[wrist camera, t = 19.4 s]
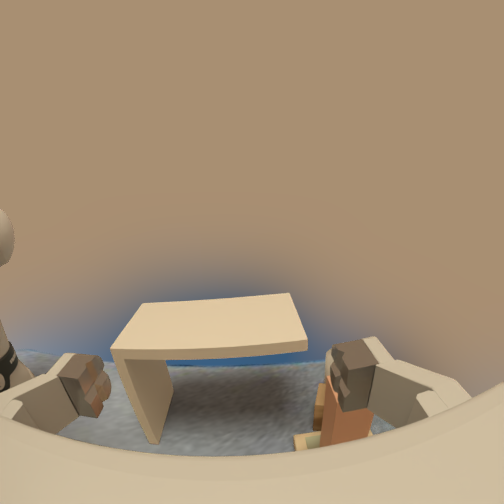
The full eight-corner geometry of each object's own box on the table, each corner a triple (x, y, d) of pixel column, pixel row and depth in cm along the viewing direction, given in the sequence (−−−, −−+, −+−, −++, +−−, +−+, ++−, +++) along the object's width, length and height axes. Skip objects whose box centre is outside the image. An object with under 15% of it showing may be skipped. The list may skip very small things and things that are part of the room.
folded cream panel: (304, 439, 35) (307, 339, 31) (149, 443, 35) (109, 348, 31) (291, 384, 49) (289, 292, 45) (166, 390, 49) (142, 303, 44)
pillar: (359, 461, 28) (379, 393, 24) (326, 468, 28) (337, 402, 24) (350, 438, 32) (364, 368, 29) (319, 444, 32) (326, 375, 29)
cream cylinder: (318, 398, 44) (321, 358, 42) (329, 384, 47) (332, 344, 45) (341, 406, 41) (347, 365, 39) (351, 390, 45) (357, 350, 42)
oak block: (312, 430, 37) (314, 404, 36) (317, 409, 42) (319, 383, 40) (345, 432, 36) (350, 406, 34) (347, 410, 40) (351, 384, 39)
